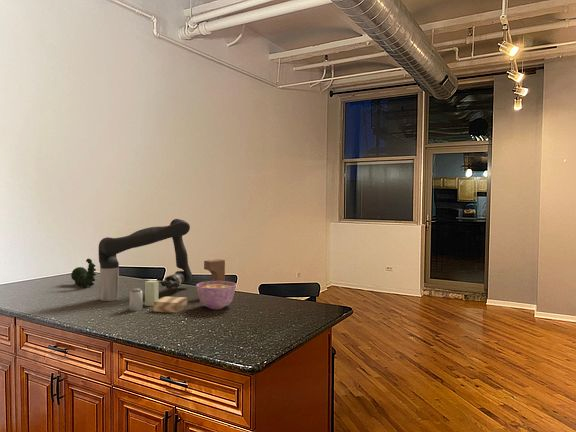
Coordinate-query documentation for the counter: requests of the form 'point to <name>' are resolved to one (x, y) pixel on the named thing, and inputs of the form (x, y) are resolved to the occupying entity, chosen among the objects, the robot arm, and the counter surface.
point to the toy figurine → (84, 275)
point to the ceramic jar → (136, 299)
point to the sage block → (151, 292)
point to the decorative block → (216, 269)
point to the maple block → (170, 304)
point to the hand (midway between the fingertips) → (161, 286)
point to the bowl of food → (216, 293)
